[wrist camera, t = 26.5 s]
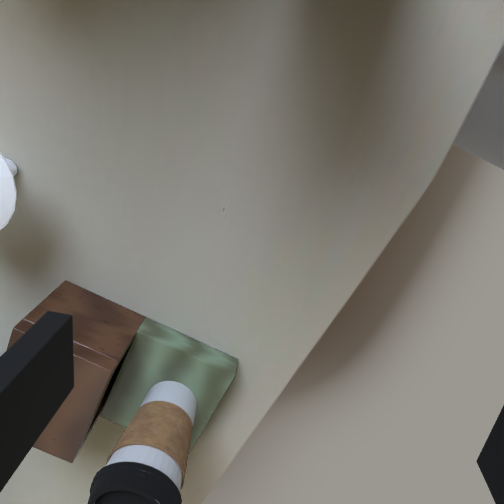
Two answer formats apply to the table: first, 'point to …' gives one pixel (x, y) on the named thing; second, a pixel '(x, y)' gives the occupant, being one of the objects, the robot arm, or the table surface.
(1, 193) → the white toy dagger
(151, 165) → the table surface
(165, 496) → the coffee cup
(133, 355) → the step shelf
